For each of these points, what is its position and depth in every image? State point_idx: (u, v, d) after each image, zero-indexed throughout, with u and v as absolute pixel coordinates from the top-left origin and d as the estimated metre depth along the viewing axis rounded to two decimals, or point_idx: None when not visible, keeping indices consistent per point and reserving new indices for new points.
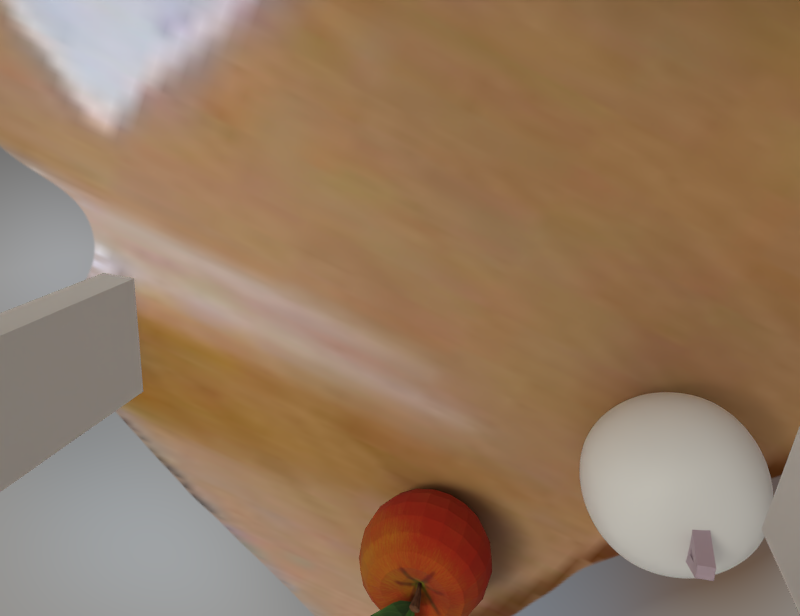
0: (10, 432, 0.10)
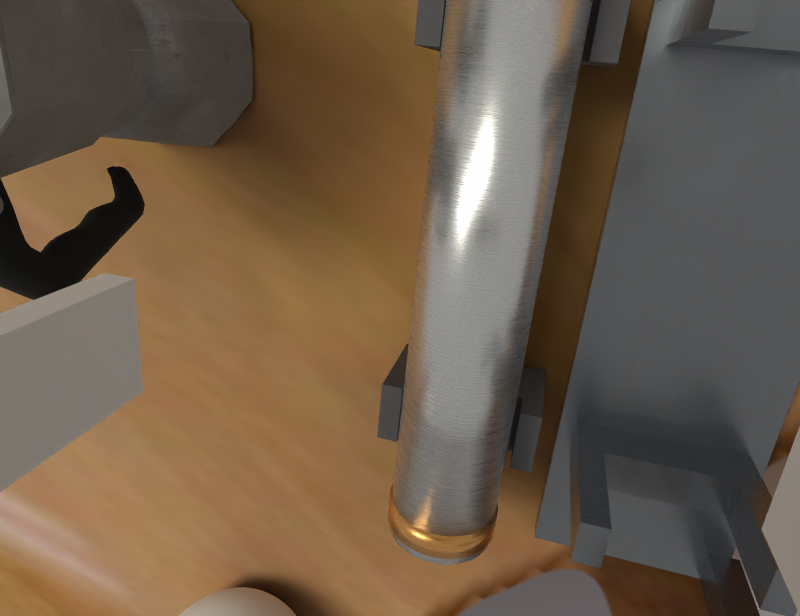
0: (10, 433, 0.10)
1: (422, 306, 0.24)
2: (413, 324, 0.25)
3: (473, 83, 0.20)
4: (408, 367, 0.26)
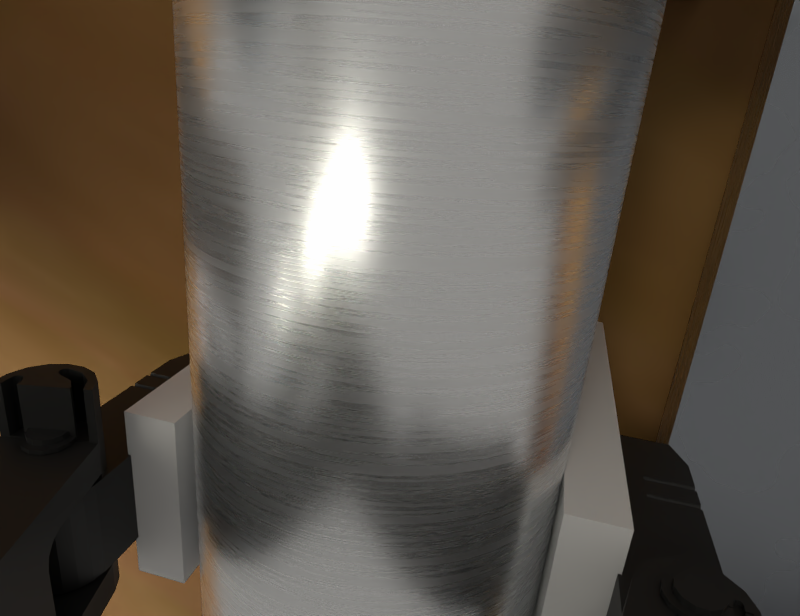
0: None
1: None
2: None
3: None
4: None
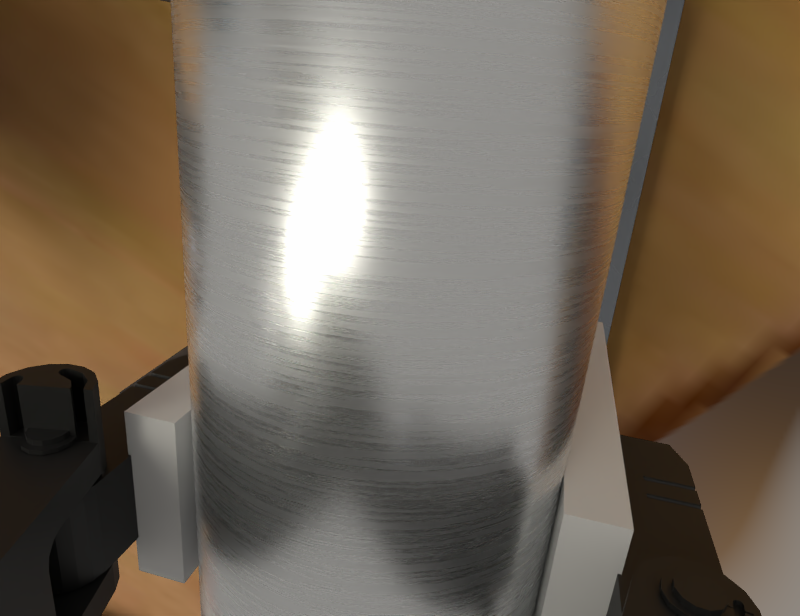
0: None
1: None
2: None
3: None
4: None
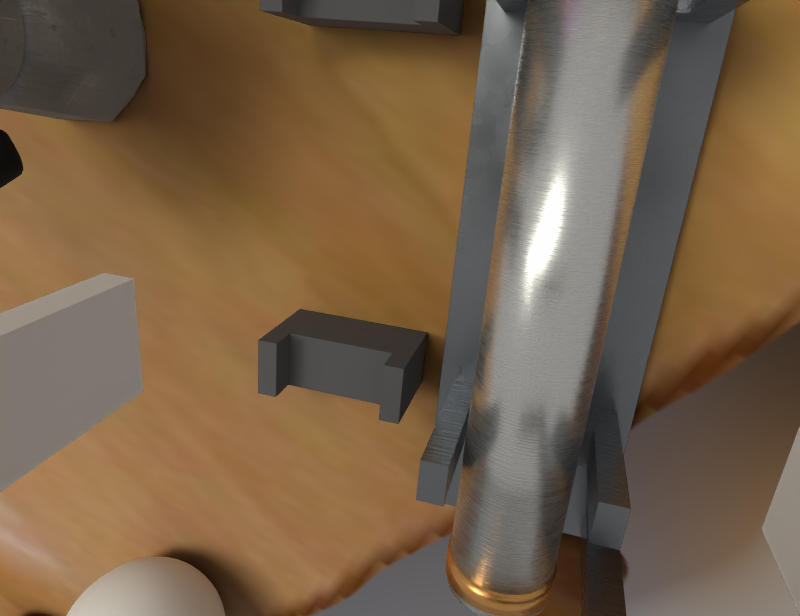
0: (10, 432, 0.10)
1: (484, 366, 0.25)
2: (475, 382, 0.26)
3: (538, 160, 0.21)
4: (469, 423, 0.26)
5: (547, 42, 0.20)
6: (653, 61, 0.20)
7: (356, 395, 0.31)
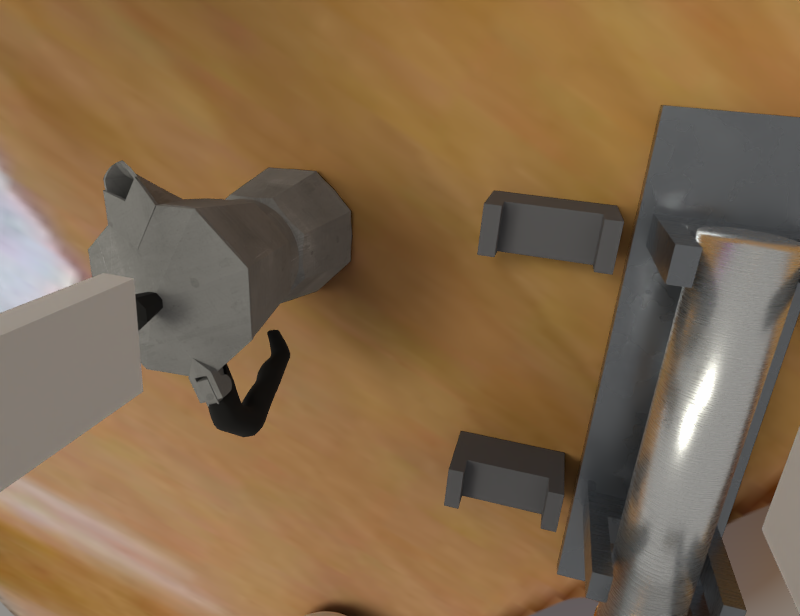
0: (10, 432, 0.10)
1: (641, 508, 0.35)
2: (630, 516, 0.36)
3: (697, 388, 0.31)
4: (623, 542, 0.37)
5: (709, 319, 0.30)
6: (779, 332, 0.30)
7: (517, 505, 0.42)
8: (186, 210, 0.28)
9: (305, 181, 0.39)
